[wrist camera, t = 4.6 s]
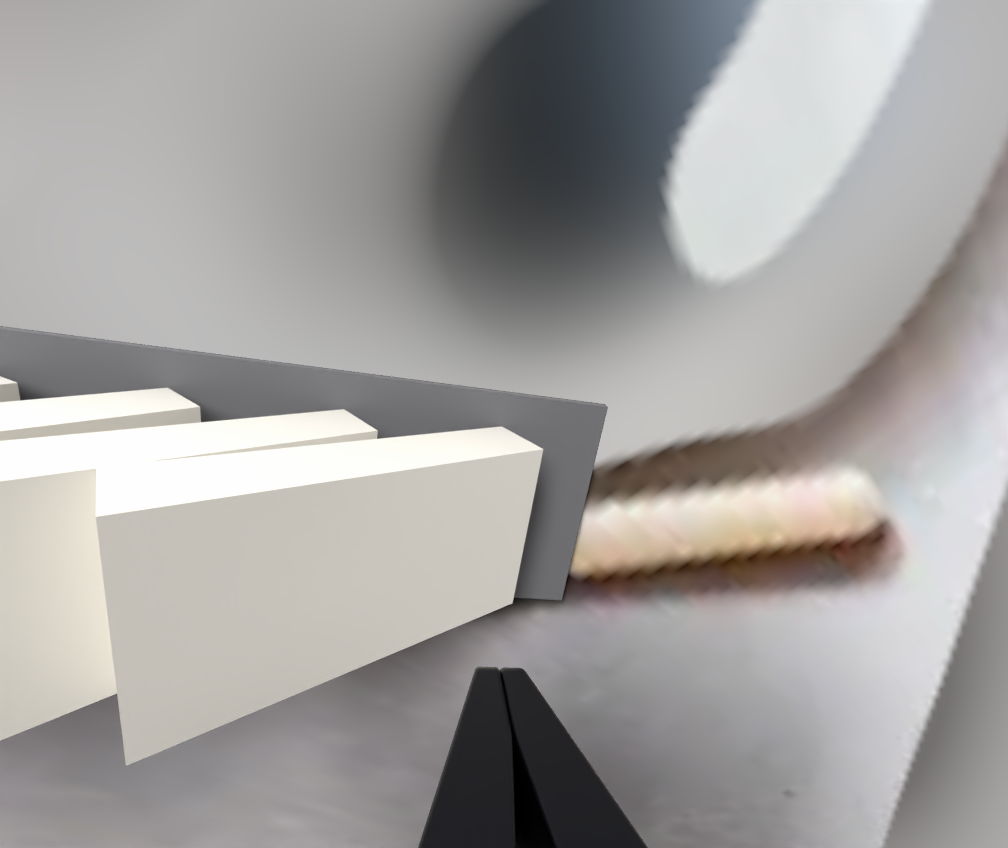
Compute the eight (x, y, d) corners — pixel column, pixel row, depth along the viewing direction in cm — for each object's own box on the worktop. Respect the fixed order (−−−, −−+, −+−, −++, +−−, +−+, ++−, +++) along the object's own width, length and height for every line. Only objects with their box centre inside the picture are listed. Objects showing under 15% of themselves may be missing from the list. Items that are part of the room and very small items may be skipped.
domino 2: (512, 603, 14) (125, 765, 8) (477, 569, 15) (122, 690, 9) (543, 449, 12) (95, 516, 7) (501, 426, 14) (96, 466, 8)
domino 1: (364, 593, 13) (-183, 815, 7) (335, 560, 14) (-158, 726, 8) (378, 430, 12) (-307, 522, 5) (343, 408, 13) (-253, 464, 7)
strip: (604, 404, 14) (607, 406, 14) (559, 594, 16) (561, 600, 16) (-302, 287, 11) (-323, 287, 10) (-209, 548, 13) (-224, 555, 12)
